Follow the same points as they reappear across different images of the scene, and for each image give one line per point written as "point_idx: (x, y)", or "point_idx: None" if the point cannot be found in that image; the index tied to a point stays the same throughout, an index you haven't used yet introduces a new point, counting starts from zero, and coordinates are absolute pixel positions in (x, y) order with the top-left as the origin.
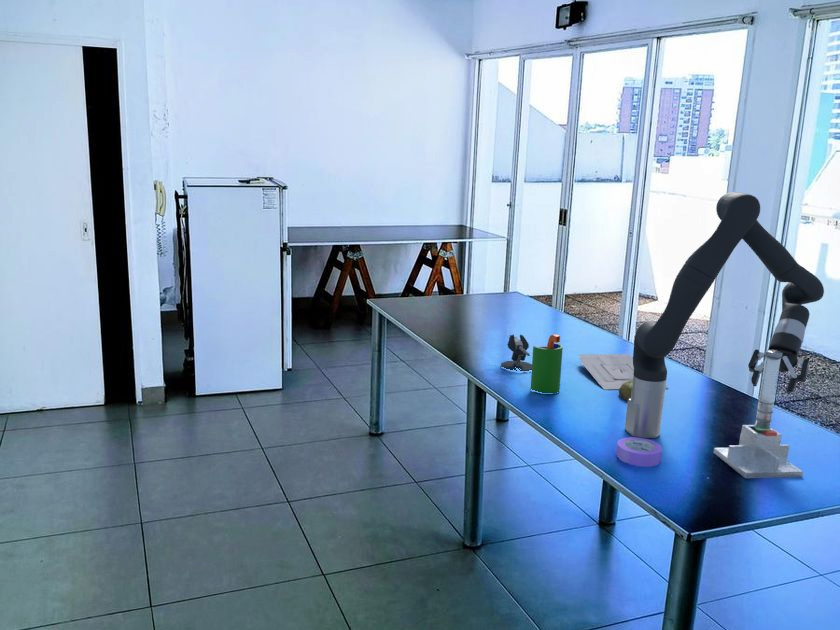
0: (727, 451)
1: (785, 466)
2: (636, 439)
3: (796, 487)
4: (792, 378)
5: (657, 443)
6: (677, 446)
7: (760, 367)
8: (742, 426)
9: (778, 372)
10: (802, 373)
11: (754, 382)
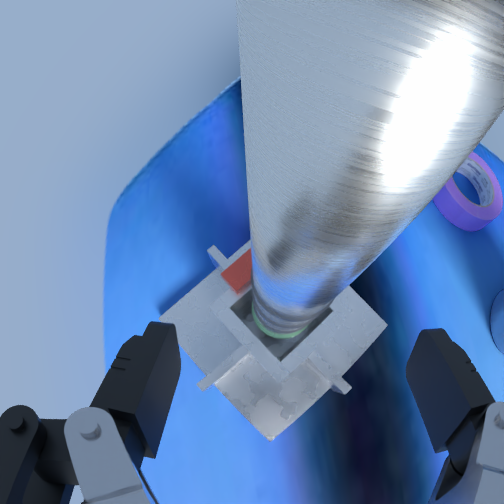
0: (354, 324)
1: (200, 324)
2: (491, 205)
3: (169, 249)
4: (118, 426)
5: (464, 208)
6: (449, 302)
7: (492, 443)
8: (350, 310)
9: (245, 144)
10: (10, 448)
11: (431, 329)
